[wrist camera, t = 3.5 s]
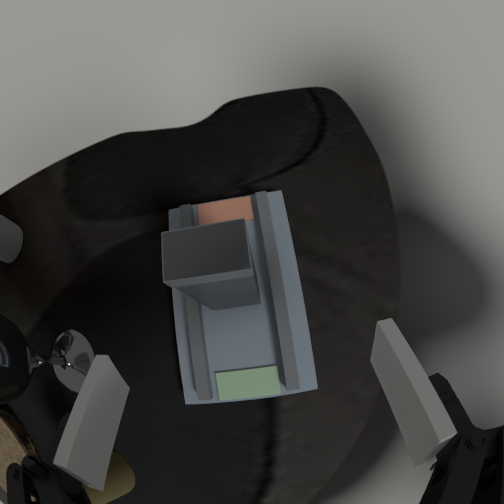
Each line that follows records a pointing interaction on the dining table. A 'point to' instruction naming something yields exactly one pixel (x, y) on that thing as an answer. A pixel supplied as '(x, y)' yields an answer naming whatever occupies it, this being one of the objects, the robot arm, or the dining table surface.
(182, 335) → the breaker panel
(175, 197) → the dining table surface
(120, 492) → the cork
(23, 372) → the wine glass
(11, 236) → the lotion bottle
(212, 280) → the handle
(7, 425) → the wood slice
